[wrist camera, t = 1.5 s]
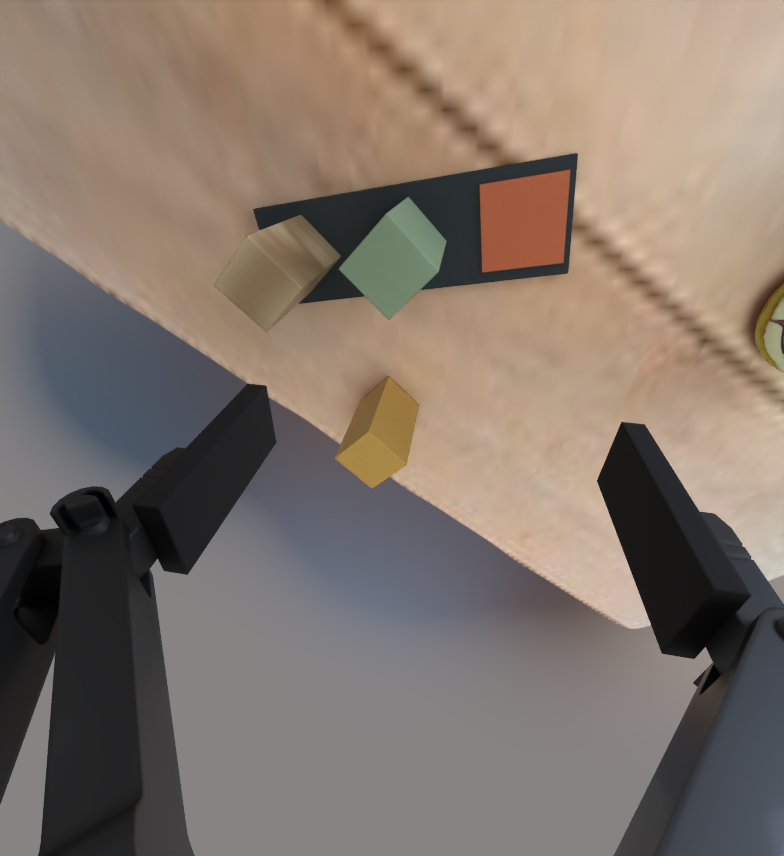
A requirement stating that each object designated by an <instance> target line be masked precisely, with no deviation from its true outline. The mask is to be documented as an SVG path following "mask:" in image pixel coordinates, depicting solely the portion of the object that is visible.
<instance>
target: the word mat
mask: <svg viewBox="0 0 784 856" xmlns="http://www.w3.org/2000/svg"><path fill="white" fill-rule="evenodd" d="M577 157H578V154H570V155H564V156H559V157H553V158H547V159H541V160H535V161H530V162H524V163H518V164H512V165H506V166H501V167H495V168H489V169H483V170H477V171H472V172H466V173H460V174H454V175H448V176H443V177H437V178H431V179H425V180H419V181H414V182H408V183H402V184H396V185H390V186H385V187H379V188H373V189H367V190H361V191H356V192H350V193H344V194H338V195H332V196H327V197H321V198H315V199H309V200H303V201H298V202H292V203H286V204H280V205H274V206H269V207H263V208H257V209H253V210H254V214H255V217H256V220H257V224H258V227H259V230H262V229H265V228H267V227H270V226H273V225H275V224H278V223H280V222H283V221H286V220H288V219H291V218H293V217H296V216H298V215H302V216H303V217H304V218H305V219H306V220H307V221H308V222H309V223H310V224H311V225H312V226H313V227H314V229H315V230H316V231H317V232H318V233H319V234H320V235H321V236H322V237H323V238H324V239H325V240H326V241H327V242H328V243H329V244H330V245H331V246H332V247H333V248H334V249H335V250H336V251H337V252H338V253H339V254H340V255H341V257H340V258H339V260H338V261H337V262H336V263H335V264H334V265H333V267H332V268H331V269H330V270H329V271H328V273H327V274H326V275H325V276H324V277H323V278H322V280H321V281H320V282H319V283H318V284H317V286H316V287H315V288H314V289H313V290H312V291H311V292H310V293H309V294H308V295H307V296H306V297H305V298H304V299H303V300H302V301H300V302H299V303H298V304H300V303H309V302H317V301H326V300H335V299H344V298H353V297H362V296H365V295H364V294H363V293H362V292H361V291H360V290H359V289H358V288H357V287H356V286H355V285H354V284H353V283H352V282H351V281H350V280H349V279H348V278H347V277H346V276H345V275H344V274H343V273H342V272H341V271H340V270H339V268H340V266H341V265H342V264H343V263H344V262H345V261H346V259H347V258H348V257H349V256H350V255H351V254H352V252H353V251H354V250H355V249H356V248H357V247H358V246H359V244H360V243H361V242H362V241H363V240H364V239H365V237H366V236H367V235H368V234H369V233H370V232H371V230H372V229H373V228H374V227H375V226H376V225H377V223H378V222H379V221H380V220H381V219H382V218H383V216H384V215H385V214H386V213H387V212H389V211H390V210H391V209H393V208H394V207H395V206H397V205H398V204H399V203H401V202H402V201H403V200H404V199H406V198H407V197H409V198H410V199H411V200H412V201H413V203H414V204H415V205H416V206H417V207H418V208H419V210H420V211H421V212H422V213H423V214H424V215H425V217H426V218H427V219H428V220H429V221H430V222H431V224H432V225H433V226H434V227H435V228H436V229H437V231H438V232H439V233H440V234H441V235H442V236H443V238H444V239H445V240H446V241H447V242H446V246H445V249H444V253H443V257H442V261H441V264H440V268H439V272H438V273H437V274H436V275H435V276H434V277H433V278H432V279H431V280H430V281H429V282H428V283H427V284H426V285H425V286H424V287H422V288H421V289H420V290H424V289H433V288H442V287H451V286H459V285H468V284H477V283H486V282H495V281H504V280H513V279H522V278H530V277H539V276H548V275H557V274H566V273H568V268H569V256H570V243H571V231H572V219H573V207H574V194H575V182H576V170H577Z"/></svg>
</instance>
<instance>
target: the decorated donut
mask: <svg viewBox="0 0 784 856" xmlns="http://www.w3.org/2000/svg"><path fill="white" fill-rule="evenodd" d="M755 342H756V345H757V347H758V349H759V351H760V352H761V355H762V356H763V357H764V358H766V361H768V362H769V363H770V364H771V365H772V366H774V367H776V368H777V369H778V370H780V371H782V372H784V283H783V284H782V285H781V286H780V287H779V288H777V290H775V292H774V293H773V294H772V295H771V297H769V299H768V301H767V302H766V303H765V306H764V308H763V309H762V311H761V313H760V315H759V317H758V320H757V324H756V329H755Z"/></svg>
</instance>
